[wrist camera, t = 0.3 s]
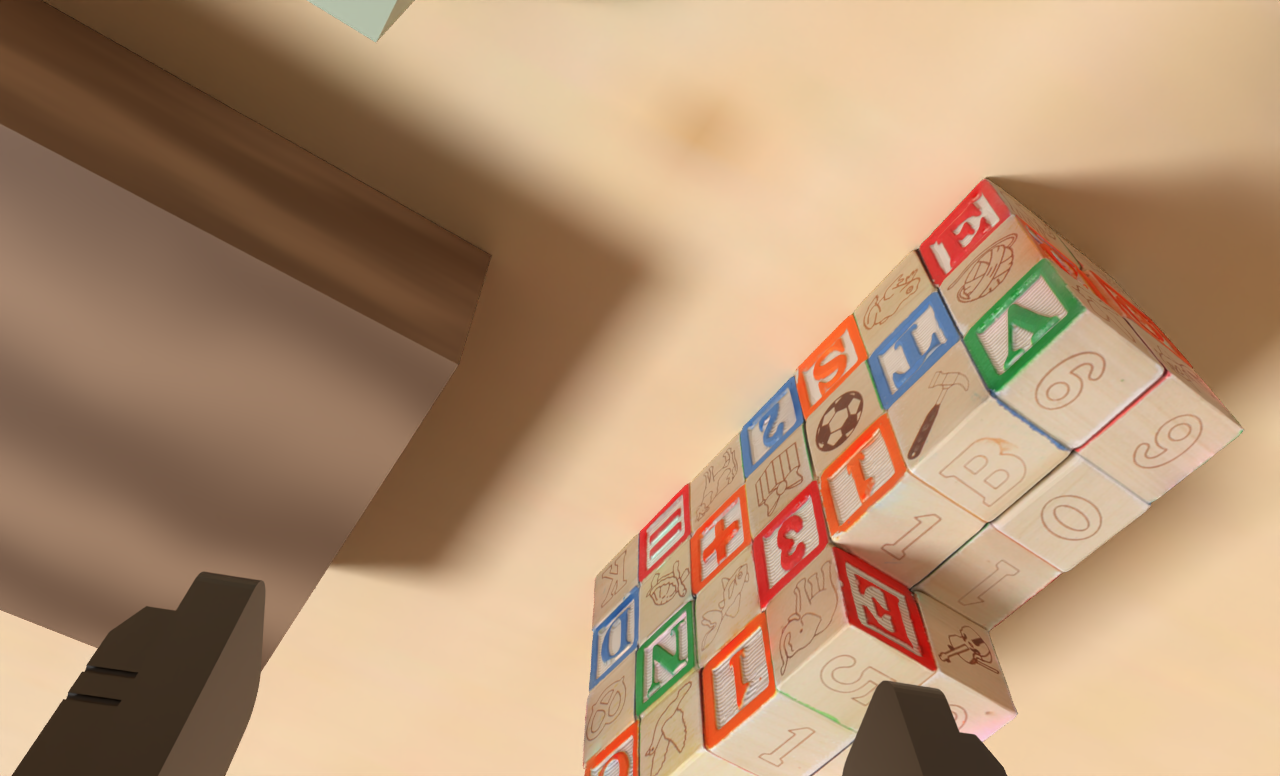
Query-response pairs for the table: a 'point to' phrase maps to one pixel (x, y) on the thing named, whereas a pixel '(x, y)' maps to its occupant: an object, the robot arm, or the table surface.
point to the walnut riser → (193, 338)
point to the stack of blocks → (893, 508)
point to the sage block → (365, 14)
